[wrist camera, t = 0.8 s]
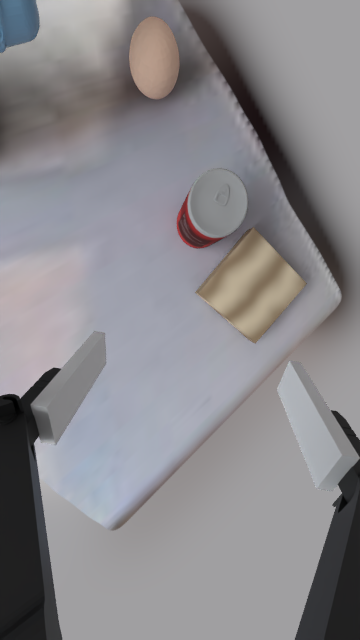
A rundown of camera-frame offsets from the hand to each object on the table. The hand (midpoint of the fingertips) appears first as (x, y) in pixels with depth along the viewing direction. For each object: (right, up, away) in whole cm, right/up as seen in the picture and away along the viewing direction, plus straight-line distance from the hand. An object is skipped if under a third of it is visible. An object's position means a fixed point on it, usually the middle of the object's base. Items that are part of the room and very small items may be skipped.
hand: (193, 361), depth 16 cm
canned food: (+2, +19, +22) cm, 29 cm away
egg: (-5, +38, +18) cm, 42 cm away
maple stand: (+11, +9, +25) cm, 29 cm away
